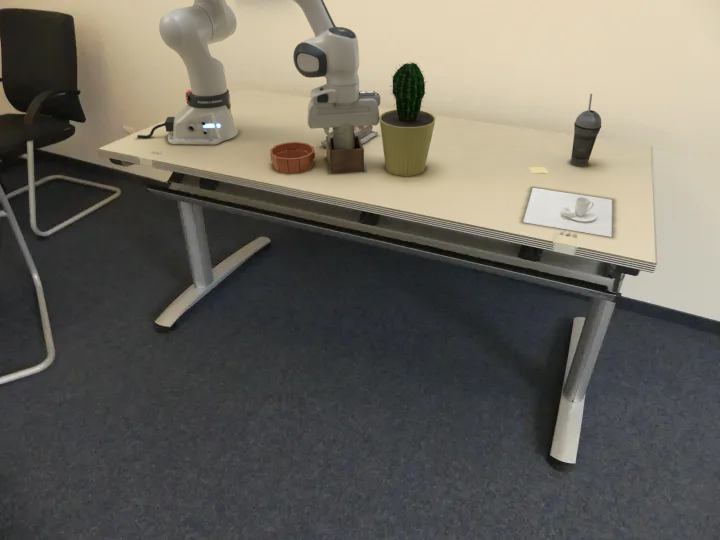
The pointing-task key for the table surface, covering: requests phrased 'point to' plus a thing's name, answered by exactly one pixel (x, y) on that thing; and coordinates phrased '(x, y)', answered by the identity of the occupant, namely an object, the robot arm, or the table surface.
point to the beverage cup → (585, 135)
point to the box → (344, 137)
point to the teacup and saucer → (570, 212)
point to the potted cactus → (407, 124)
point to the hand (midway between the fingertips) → (343, 140)
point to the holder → (345, 158)
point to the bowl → (292, 157)
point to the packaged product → (364, 135)
